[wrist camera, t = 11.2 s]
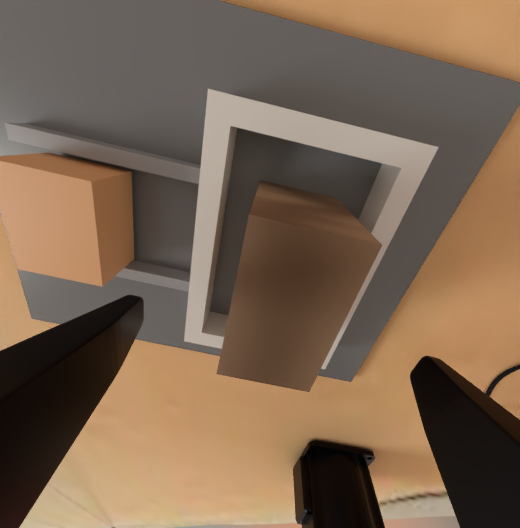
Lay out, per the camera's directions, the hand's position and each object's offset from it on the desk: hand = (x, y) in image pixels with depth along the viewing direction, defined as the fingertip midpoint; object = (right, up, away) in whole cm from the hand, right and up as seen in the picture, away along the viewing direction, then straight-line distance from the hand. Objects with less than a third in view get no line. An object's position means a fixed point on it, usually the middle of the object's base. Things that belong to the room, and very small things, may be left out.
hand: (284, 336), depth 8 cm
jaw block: (0, +3, +6) cm, 7 cm away
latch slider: (-10, +6, +6) cm, 13 cm away
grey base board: (-3, +4, +7) cm, 8 cm away
